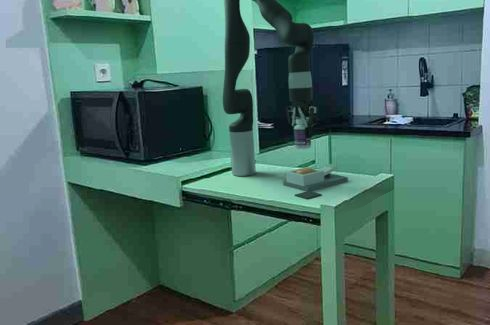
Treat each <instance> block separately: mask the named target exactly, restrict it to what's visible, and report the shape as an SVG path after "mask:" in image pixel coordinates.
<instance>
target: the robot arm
mask: <svg viewBox="0 0 490 325" xmlns="http://www.w3.org/2000/svg"><path fill="white" fill-rule="evenodd" d="M252 1H253V2H255V4H257V6H258V9H259V12H260V15H261V17H262V19H264V21H265V22H267V23H268V24H269V25H270V26H271V27H272V28H273V29H274V30H275V31H276V33H277V35H278V37H279V38H280V39H281V41H282V42H283V43H284V44H286V45H288V46H291V47H295V50H294V53H292V54H289V56H288V59H287V61H288V62H287V63H288V95H289V96H288V97H289V100H288V101H290V102H291V106H285V112H286V116H287V123H288V124H289V125H291V127H292V131H293V132H292V133H293V137H294V138H295V133H294V127H295V126H296V125H297V124H296V119H302V121H304V124H305V138H306V139H309V138H311V139H312V137H313V126H316V125H317V124H318V123H317V122H318V113H319V107H318V106H312V103H311V101H313V81H312V73H311V55H312V50H313V44H314V37H315V36H314V35H315V34H314V31H313V28H312V26H311V25H310V24H308V23H305V22H294V21H293V15H292V14H291V12H290V11H289V10H288V9H286V8H285V7H284V6H283V5H282V4H281V3H280V2H278V1H277V0H252ZM240 2H241V1H240V0H223V7H224V9H223V10H224V27H225V28H224V77H223V78H224V79H223V89H222V90H223V91H222V108H223V110H224V113H225V114H226V115H236V114H237V115H238V114H240V115H239V117H238V118H237V119H236V120H235V121H233V122H231V123H230V124H229V125H228V131H229V141H230V142H229V143H230V152H229V154H230V165H231V174H232V175H233V176H235V177H248V176H252V175H255V174H256V173H257V170H256V168H257V167H256V156H255V155H256V153H255V142H254V141H255V140H254V100H253V96H252V93H251V91H250V90H249V89H248V88H239V89H237V88H236V87H237V86H236V85H237V81H238V78H239V75H240V74H241V72H242V70H243V68H244V67H245V65H246V63H247V62H248V60H249V58H250V57H249V56H250V47H251V43H250V42H251V37H250V32H249V31H248V28H247V26H246V24H245V22H244V20H243V17H242V15H241V3H240ZM307 120H308V122H307Z"/></svg>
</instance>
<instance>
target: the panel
mask: <svg viewBox="0 0 490 325" xmlns="http://www.w3.org/2000/svg"><path fill="white" fill-rule="evenodd" d="M305 168H308V167H305ZM313 169H314V172H313V173H309V174H305V175H302V174H298V173H296V170H297V169H294V170H289V171H286V172H285V175H286V177H285V178H286V180H282V182H283V183H282V184H283V186H285V187H289V188H293V189H296V190H300V191H302V192H306V191H312V192H314V191H317V190H320V189H323V188H327V187H331V186H335V185H338V184H343V183H347V182H348V181H349V176H345V175H340V174H339V175H338V174H334V173H332V172H331V173H329V174H327V175H325V176H324V171H322V170H319V169H316V168H313Z"/></svg>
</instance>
